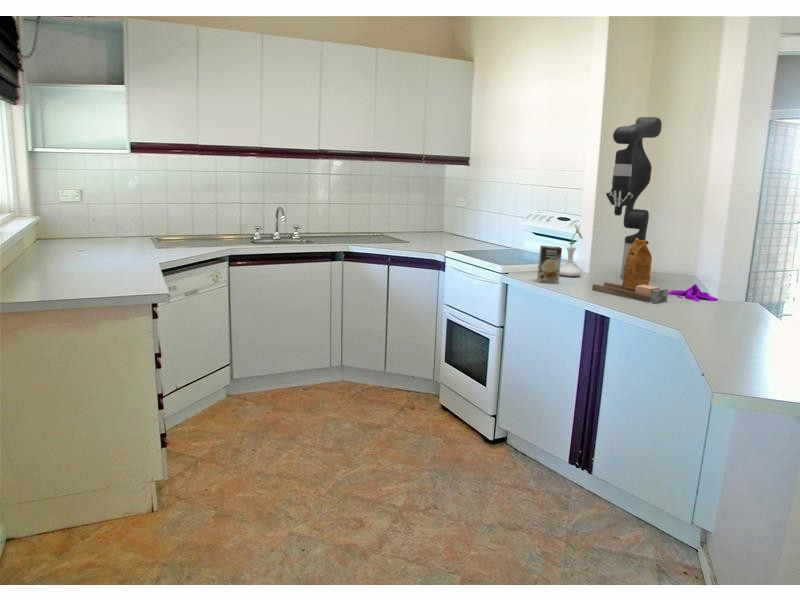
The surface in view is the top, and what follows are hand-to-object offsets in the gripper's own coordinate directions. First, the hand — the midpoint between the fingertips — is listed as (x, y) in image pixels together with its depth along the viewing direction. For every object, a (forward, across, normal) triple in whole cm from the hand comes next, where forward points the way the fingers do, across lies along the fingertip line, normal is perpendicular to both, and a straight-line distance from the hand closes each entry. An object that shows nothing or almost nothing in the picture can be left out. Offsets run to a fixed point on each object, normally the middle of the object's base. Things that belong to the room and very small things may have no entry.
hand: (617, 215), depth 282 cm
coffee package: (+32, -6, -10) cm, 34 cm away
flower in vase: (+32, +28, -7) cm, 43 cm away
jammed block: (+32, -23, +8) cm, 40 cm away
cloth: (+33, -31, -15) cm, 47 cm away
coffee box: (+32, +22, +16) cm, 42 cm away
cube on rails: (+32, -14, +8) cm, 36 cm away
